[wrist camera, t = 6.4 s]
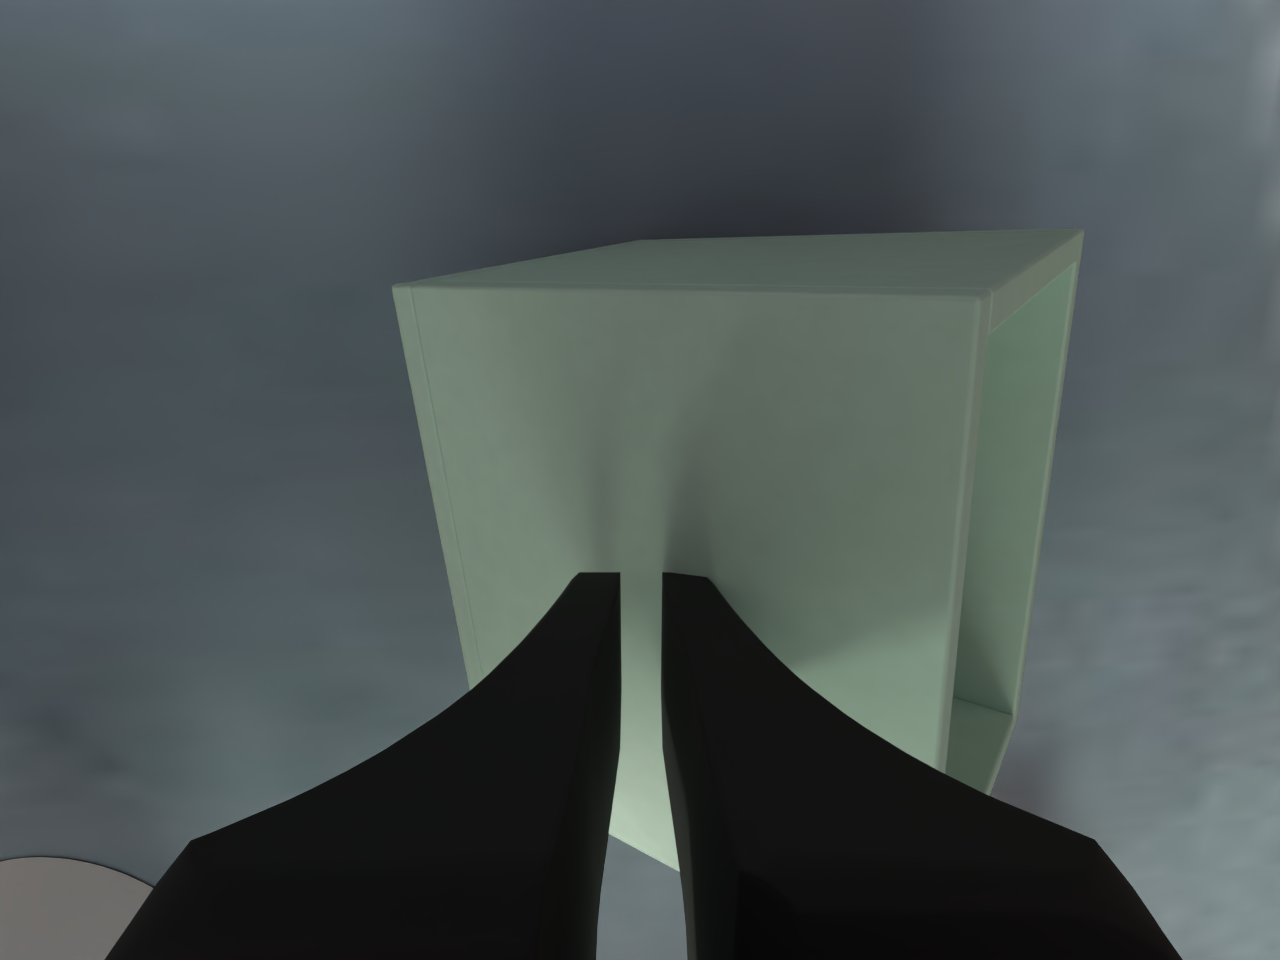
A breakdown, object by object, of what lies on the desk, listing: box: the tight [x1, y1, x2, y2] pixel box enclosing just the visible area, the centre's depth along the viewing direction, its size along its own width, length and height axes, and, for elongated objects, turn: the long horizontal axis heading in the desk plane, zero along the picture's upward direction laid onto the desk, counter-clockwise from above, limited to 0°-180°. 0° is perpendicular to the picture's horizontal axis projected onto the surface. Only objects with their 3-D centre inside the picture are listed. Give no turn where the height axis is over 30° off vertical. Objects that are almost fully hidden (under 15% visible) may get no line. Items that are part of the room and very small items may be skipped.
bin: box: [392, 228, 1084, 872], centre depth 14 cm, size 7×10×9 cm
